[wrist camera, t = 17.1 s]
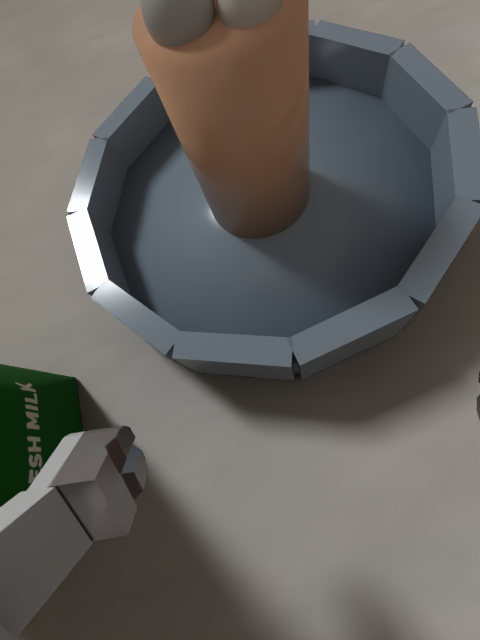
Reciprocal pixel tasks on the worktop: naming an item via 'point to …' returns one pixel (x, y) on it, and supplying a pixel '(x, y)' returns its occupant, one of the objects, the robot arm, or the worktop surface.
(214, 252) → the slate bowl
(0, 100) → the worktop surface
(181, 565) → the worktop surface
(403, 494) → the worktop surface
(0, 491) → the milk carton
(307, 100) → the pebble cup
